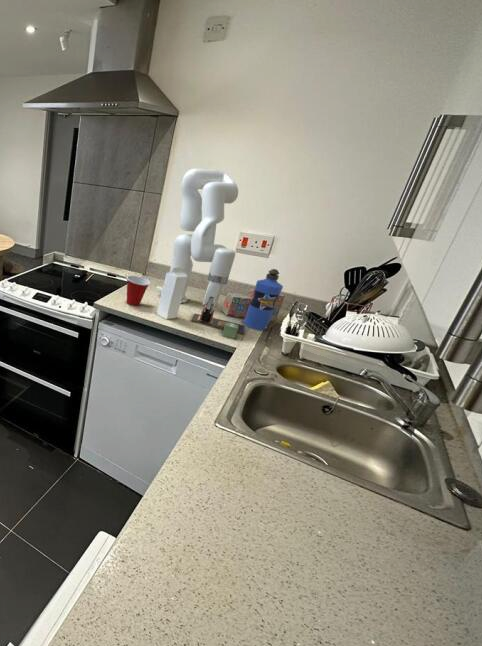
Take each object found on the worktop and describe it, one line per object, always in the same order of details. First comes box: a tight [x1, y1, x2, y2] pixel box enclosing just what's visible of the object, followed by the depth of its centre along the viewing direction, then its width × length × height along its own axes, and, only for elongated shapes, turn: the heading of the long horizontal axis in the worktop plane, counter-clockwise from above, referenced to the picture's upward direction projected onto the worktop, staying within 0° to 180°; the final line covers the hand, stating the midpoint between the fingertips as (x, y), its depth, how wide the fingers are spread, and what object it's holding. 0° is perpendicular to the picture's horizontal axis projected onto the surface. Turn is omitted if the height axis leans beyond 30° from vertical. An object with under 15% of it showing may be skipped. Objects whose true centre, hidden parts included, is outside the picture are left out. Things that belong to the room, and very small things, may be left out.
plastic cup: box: [126, 275, 152, 307], centre depth 179 cm, size 11×11×12 cm
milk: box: [156, 267, 187, 320], centre depth 166 cm, size 6×6×22 cm
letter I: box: [221, 321, 238, 340], centre depth 156 cm, size 4×4×5 cm
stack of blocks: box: [221, 288, 285, 322], centre depth 176 cm, size 21×6×12 cm, turn 84°
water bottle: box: [242, 268, 284, 331], centre depth 163 cm, size 9×9×25 cm
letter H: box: [200, 307, 215, 323], centre depth 168 cm, size 4×4×5 cm
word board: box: [190, 313, 245, 335], centre depth 167 cm, size 20×10×1 cm, turn 59°
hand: (205, 318), depth 168 cm, fingers closed on letter H, 4 cm apart
